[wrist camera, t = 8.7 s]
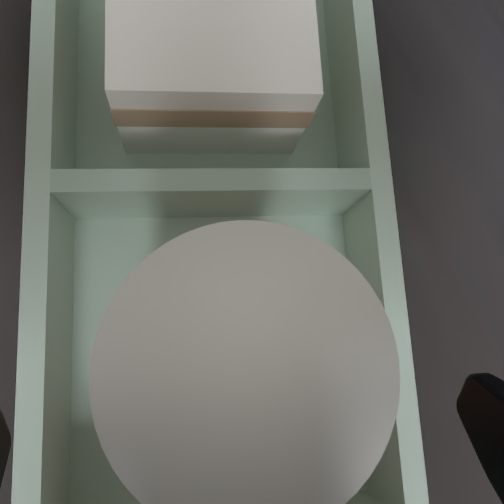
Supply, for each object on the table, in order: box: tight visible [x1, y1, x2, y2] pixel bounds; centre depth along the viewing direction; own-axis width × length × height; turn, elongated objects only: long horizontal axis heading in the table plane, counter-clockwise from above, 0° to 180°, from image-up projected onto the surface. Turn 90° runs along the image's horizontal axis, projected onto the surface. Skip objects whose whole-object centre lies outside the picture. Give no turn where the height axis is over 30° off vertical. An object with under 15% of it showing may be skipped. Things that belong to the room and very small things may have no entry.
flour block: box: [105, 0, 324, 154], centre depth 18 cm, size 7×7×5 cm
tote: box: [11, 0, 429, 504], centre depth 18 cm, size 24×13×4 cm, turn 2°
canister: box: [89, 220, 400, 504], centre depth 14 cm, size 6×6×10 cm
